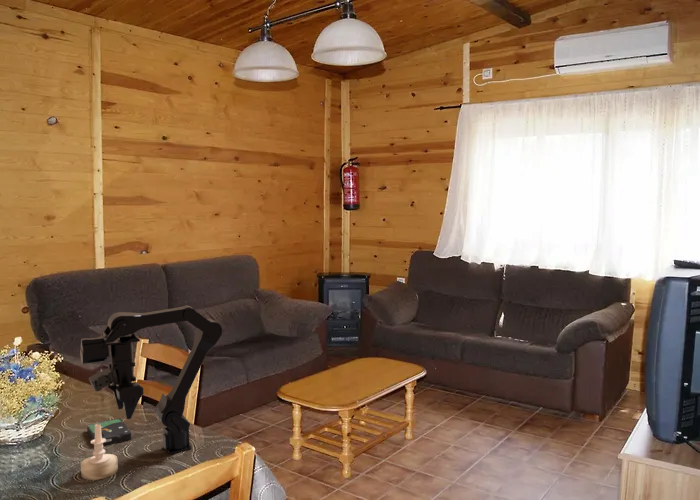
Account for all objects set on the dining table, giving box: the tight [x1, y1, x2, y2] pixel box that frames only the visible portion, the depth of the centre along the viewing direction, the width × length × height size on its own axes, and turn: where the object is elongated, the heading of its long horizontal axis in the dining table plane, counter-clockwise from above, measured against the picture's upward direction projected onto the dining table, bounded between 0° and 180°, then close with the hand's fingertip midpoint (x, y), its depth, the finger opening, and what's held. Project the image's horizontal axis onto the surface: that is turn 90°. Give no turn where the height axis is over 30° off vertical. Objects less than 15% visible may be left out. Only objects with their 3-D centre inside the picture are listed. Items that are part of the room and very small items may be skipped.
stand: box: [80, 453, 119, 481], centre depth 162 cm, size 9×9×3 cm
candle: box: [89, 422, 110, 465], centre depth 162 cm, size 5×5×10 cm
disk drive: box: [86, 417, 133, 447], centre depth 187 cm, size 10×3×15 cm
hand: (124, 413), depth 169 cm, fingers open, 9 cm apart
